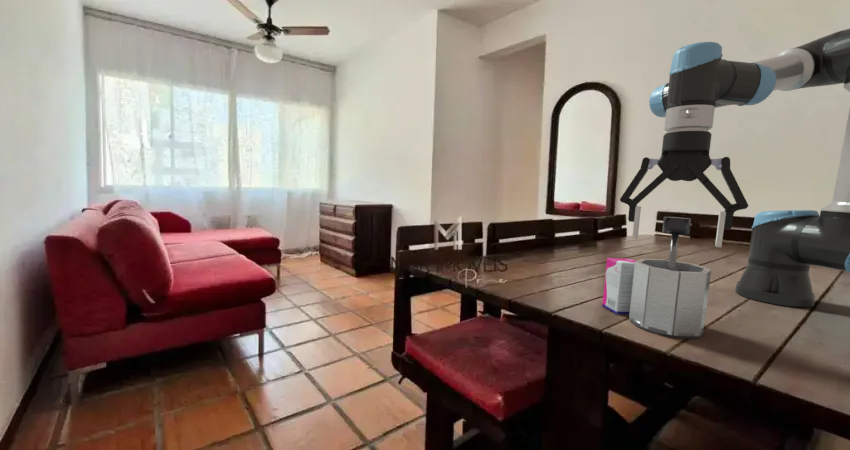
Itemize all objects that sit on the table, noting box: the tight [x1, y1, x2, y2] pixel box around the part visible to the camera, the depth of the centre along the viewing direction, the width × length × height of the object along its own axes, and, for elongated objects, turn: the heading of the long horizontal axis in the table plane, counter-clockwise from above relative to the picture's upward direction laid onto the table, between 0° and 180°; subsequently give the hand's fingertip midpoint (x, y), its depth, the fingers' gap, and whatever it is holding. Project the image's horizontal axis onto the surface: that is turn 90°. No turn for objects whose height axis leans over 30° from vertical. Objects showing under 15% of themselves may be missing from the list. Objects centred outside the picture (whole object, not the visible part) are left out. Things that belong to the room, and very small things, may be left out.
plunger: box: [662, 216, 692, 271], centre depth 73 cm, size 8×8×20 cm
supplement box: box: [601, 257, 636, 315], centre depth 83 cm, size 6×6×12 cm
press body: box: [628, 258, 712, 340], centre depth 75 cm, size 12×15×12 cm
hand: (674, 242), depth 73 cm, fingers open, 13 cm apart
